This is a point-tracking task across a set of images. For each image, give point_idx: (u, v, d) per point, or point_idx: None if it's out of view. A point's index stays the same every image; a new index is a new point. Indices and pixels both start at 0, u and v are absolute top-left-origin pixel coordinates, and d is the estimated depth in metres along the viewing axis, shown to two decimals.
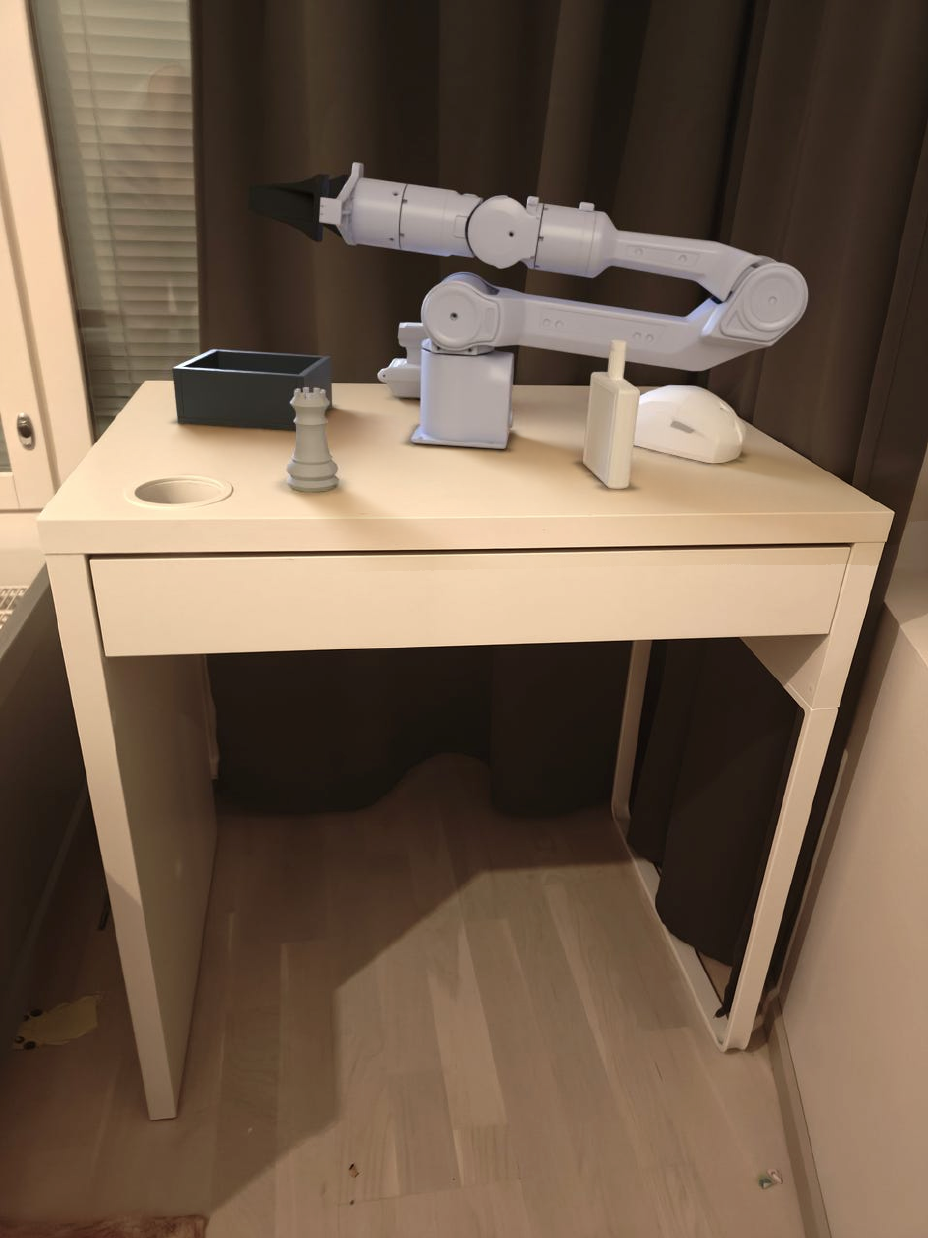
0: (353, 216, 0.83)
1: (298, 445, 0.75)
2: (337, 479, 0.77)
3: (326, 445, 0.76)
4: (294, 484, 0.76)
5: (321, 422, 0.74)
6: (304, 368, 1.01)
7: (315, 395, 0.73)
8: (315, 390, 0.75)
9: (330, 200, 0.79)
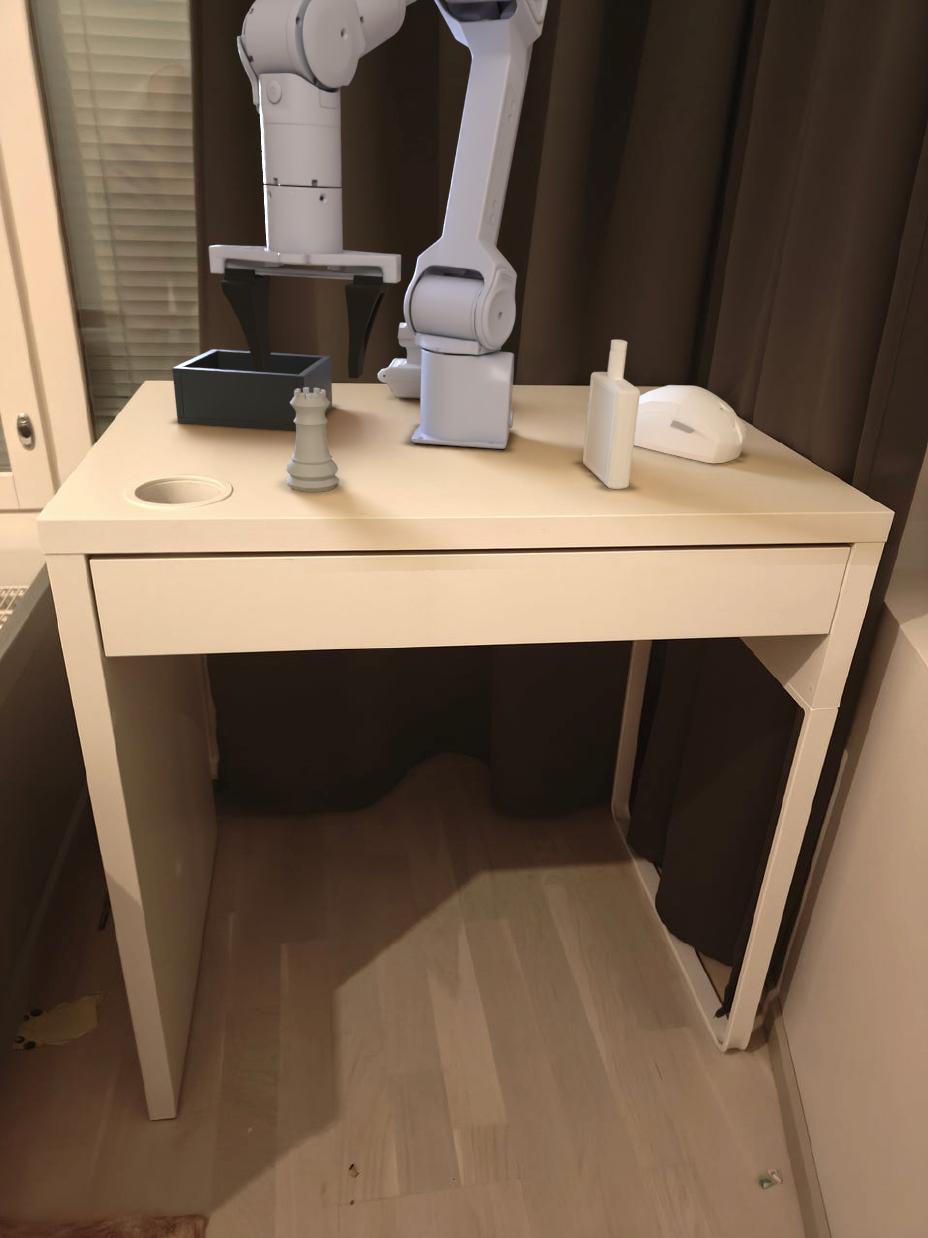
0: None
1: (298, 445, 0.75)
2: (337, 479, 0.77)
3: (326, 445, 0.76)
4: (294, 484, 0.76)
5: (321, 422, 0.74)
6: (304, 368, 1.01)
7: (315, 395, 0.73)
8: (315, 390, 0.75)
9: (397, 270, 0.68)
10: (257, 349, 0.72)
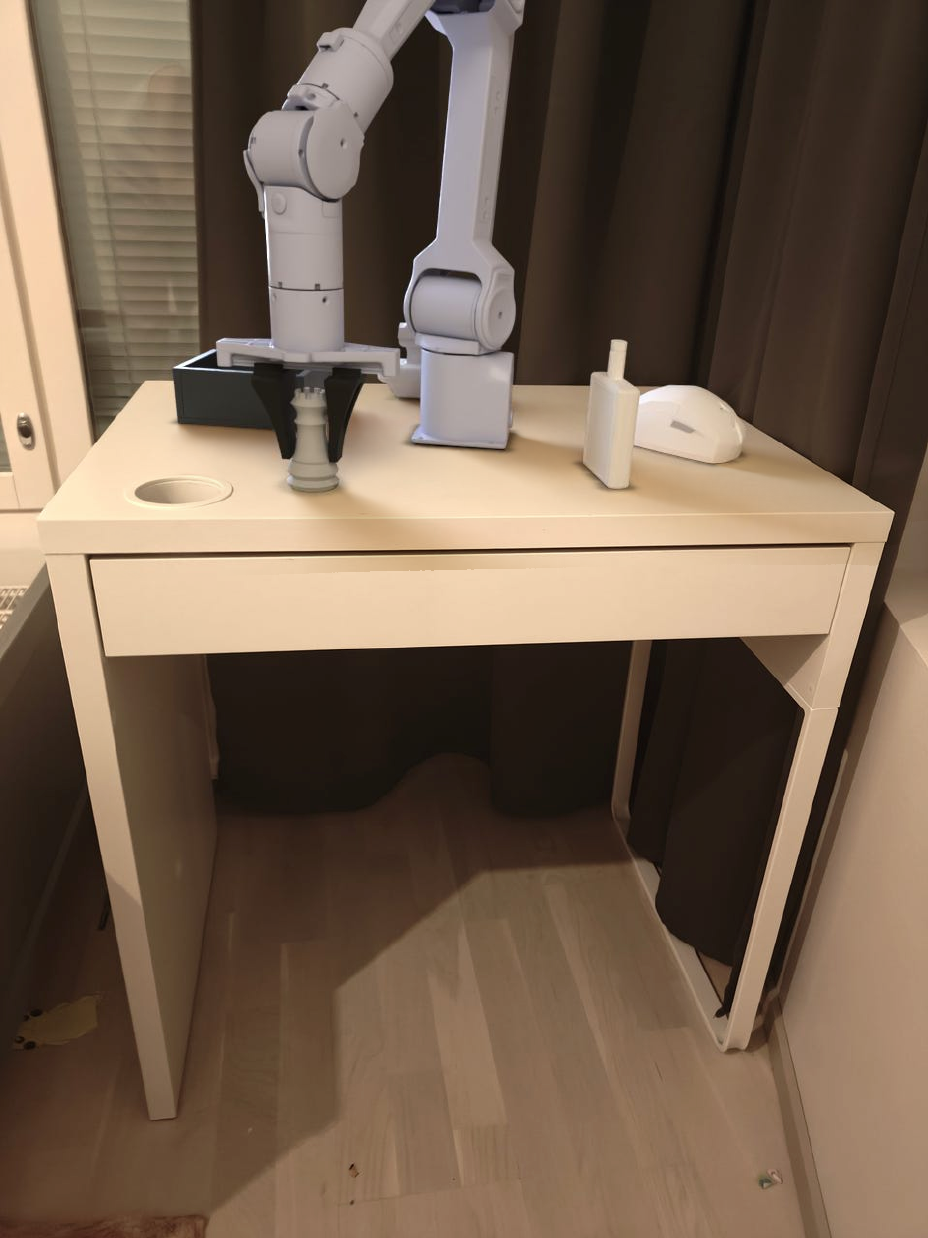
0: (344, 344, 0.72)
1: (299, 445, 0.75)
2: (337, 479, 0.77)
3: (327, 445, 0.76)
4: (295, 484, 0.76)
5: (322, 422, 0.74)
6: None
7: (316, 395, 0.73)
8: (316, 390, 0.75)
9: (396, 365, 0.72)
10: (284, 438, 0.75)
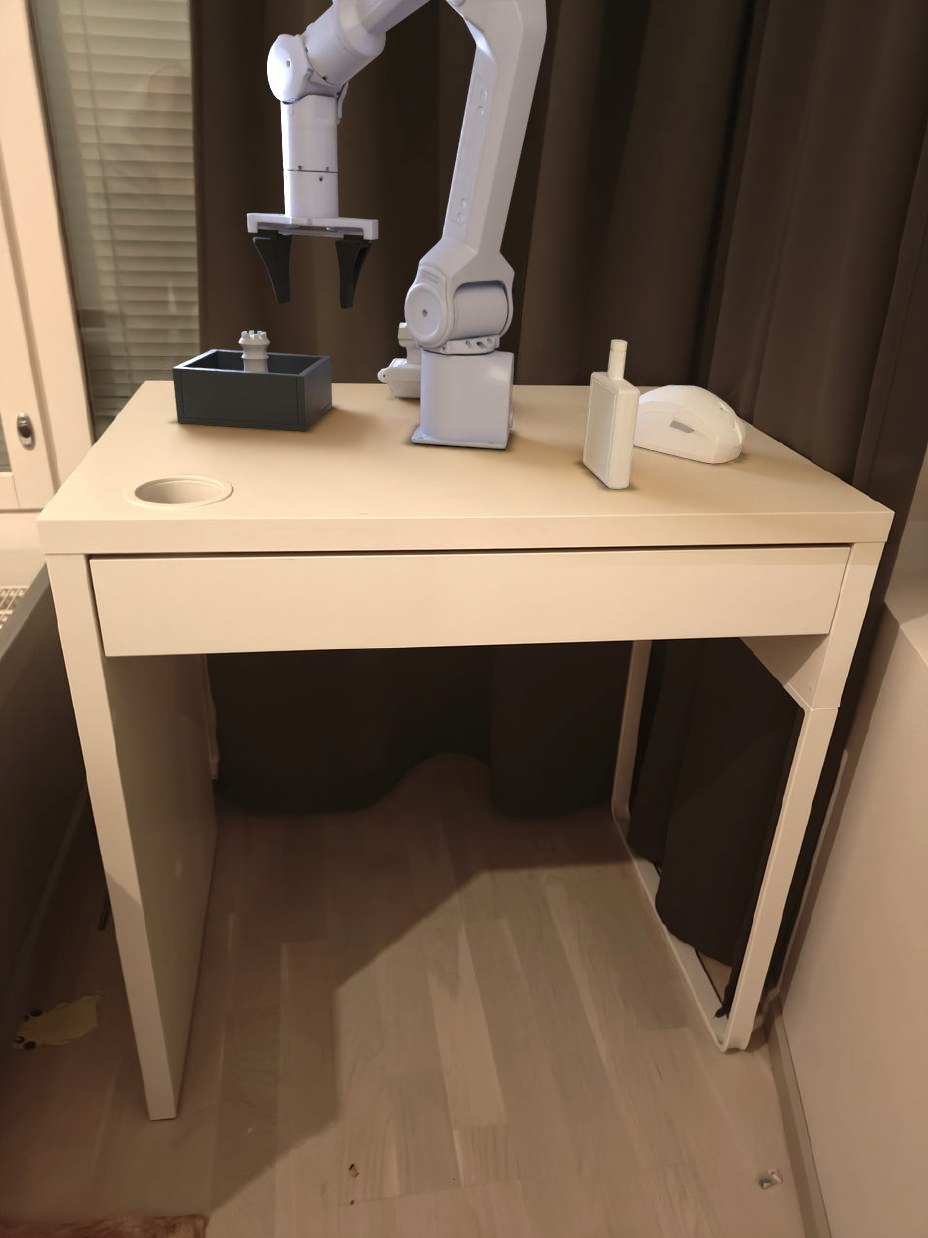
0: (338, 216, 0.99)
1: None
2: None
3: None
4: None
5: (263, 357, 0.96)
6: (304, 368, 1.01)
7: (257, 335, 0.94)
8: (258, 332, 0.96)
9: (372, 230, 0.97)
10: (278, 286, 1.02)
